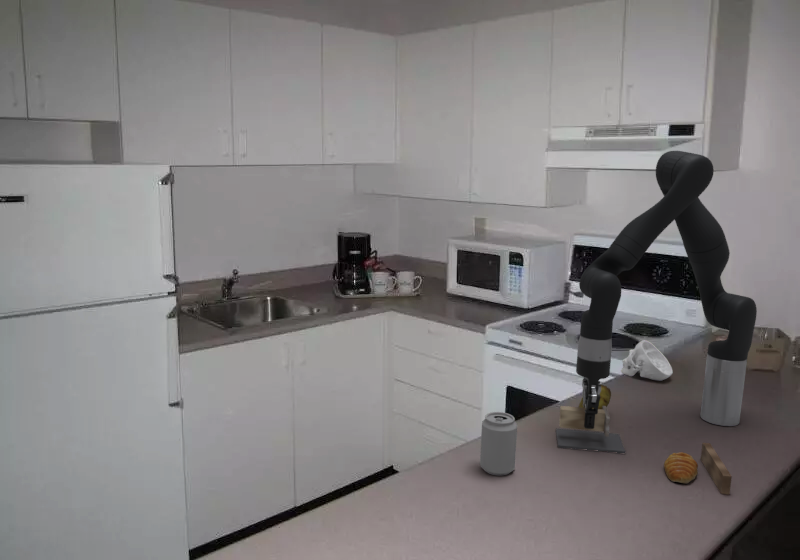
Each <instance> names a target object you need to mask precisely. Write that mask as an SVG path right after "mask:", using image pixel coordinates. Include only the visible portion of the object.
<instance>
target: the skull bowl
mask: <svg viewBox="0 0 800 560" xmlns="http://www.w3.org/2000/svg"><path fill="white" fill-rule="evenodd" d="M628 352H629V354H628V356H627V357H625V358H623V360H622V361H621V362H622V368H621V370H620V372H621V373H622V374H624V375H626V376H629V377H634V376H635V375H636V374H639V376H640V377H641V378H647V379H649V380H653V381H660V382H661V381H663V380H664V381H665V380H667V379H668V378H670V377H671V376H672V375H673V372H674V371H673V367H672V365H671V364H670V362H669V360H668V358H667V357H666V356H665V355H664V354H663V353H662V352H661V351H660V350H659V349H658V348H657V347H656V346H655V345H654V344H653V343H652V342H650V341H648V340H645V339H643V340H641V341H639V342H638V343H637V344H635V347H634V349H629V350H628Z"/></svg>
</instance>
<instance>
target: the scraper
mask: <svg viewBox="0 0 800 560" xmlns="http://www.w3.org/2000/svg"><path fill="white" fill-rule="evenodd" d="M559 409H560V411H559V421H558V422H559V423H558V424H559V429H570V430H581V431H592V432H603V433H604V435H605V436H606V437H609V433H610V426H611V425H610V424H611V417H610V413H609V410H608V408H607V407H606V406H602V409H598V413H597V414H595V422H594V428H593V429H586V428H585V427H584V421H585V411H584V410H585V408H580V407H579V406H568V405H567V406H566V405H565V406H564V405H560V407H559Z"/></svg>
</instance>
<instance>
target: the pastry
mask: <svg viewBox="0 0 800 560" xmlns="http://www.w3.org/2000/svg"><path fill="white" fill-rule="evenodd" d="M663 466H664V471H665V474H666V476H667V478H668V479H669V480H670V481H671V482H674V483H675V482H676V483H681V484H689V483H690V482H691V481H692V482H693V481H694V480H695V479H696V477H697V475H698V467H699V465H698V463H697V461H696V460H695V459H694V458H693V456H692V455H691V454H688V453H687V452H681V451H680V452H673V453H672V454H669V455H668V457H667V458H666V459H665V461H664V463H663Z"/></svg>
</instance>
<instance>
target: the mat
mask: <svg viewBox="0 0 800 560" xmlns="http://www.w3.org/2000/svg"><path fill="white" fill-rule="evenodd" d="M555 435H556V436H555V437H556V443H557V444H558V445H557V448H558V447H560V448H559V449H567V448H572V449H571V450H578V449H587V450H586V451H588V450H598V451H597V452H599V451H608V452H607V453H609V452H617V453H616V454H620V453H625V454H626V450H625V446H624V444H623V441H622V438H621V435H620V433H613V432H609V437H606V436H605V435H604V432H603V431H592V430H581V429H570V428H560V427H559V428H557V427H556V428H555Z"/></svg>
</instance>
